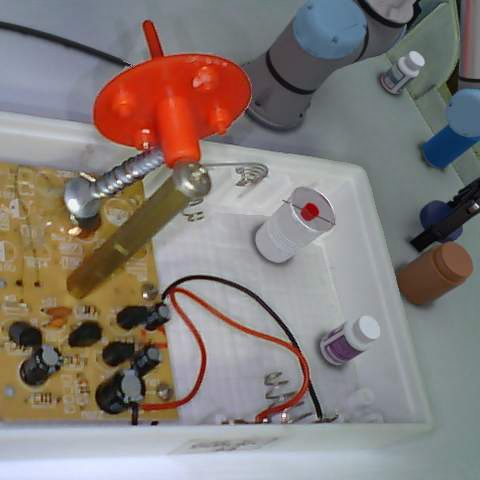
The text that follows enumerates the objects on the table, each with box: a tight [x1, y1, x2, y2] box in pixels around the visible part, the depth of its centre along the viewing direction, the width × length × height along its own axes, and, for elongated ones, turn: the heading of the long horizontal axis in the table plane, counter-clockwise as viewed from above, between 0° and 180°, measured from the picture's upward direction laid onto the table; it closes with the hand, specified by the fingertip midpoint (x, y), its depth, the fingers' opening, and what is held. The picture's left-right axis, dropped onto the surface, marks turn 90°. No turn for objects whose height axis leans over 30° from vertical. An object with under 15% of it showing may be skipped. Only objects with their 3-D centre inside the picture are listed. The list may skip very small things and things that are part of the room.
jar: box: [396, 241, 474, 307], centre depth 140 cm, size 8×8×11 cm
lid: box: [419, 199, 464, 244], centre depth 148 cm, size 8×8×2 cm
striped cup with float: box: [254, 185, 337, 264], centre depth 129 cm, size 10×8×12 cm
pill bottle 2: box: [380, 50, 426, 95], centre depth 168 cm, size 5×5×9 cm
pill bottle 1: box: [319, 314, 381, 366], centre depth 124 cm, size 5×5×10 cm
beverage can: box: [422, 123, 480, 169], centre depth 161 cm, size 6×6×12 cm
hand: (423, 234), depth 152 cm, fingers closed on lid, 8 cm apart
